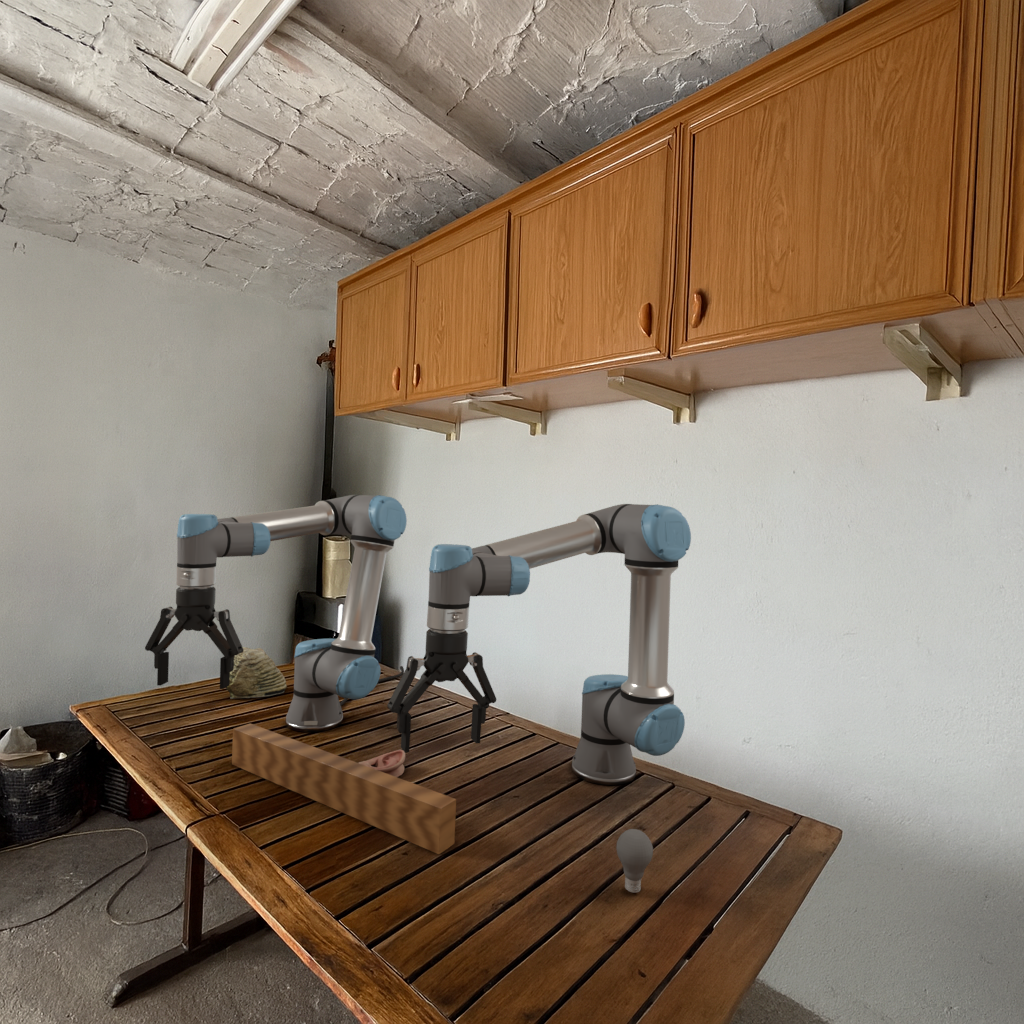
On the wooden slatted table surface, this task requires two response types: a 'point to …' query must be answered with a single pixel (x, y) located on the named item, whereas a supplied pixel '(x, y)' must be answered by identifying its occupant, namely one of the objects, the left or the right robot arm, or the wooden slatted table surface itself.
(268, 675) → the fossil
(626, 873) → the light bulb
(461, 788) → the wooden slatted table surface
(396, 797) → the beam
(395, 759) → the anatomical model
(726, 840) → the wooden slatted table surface
